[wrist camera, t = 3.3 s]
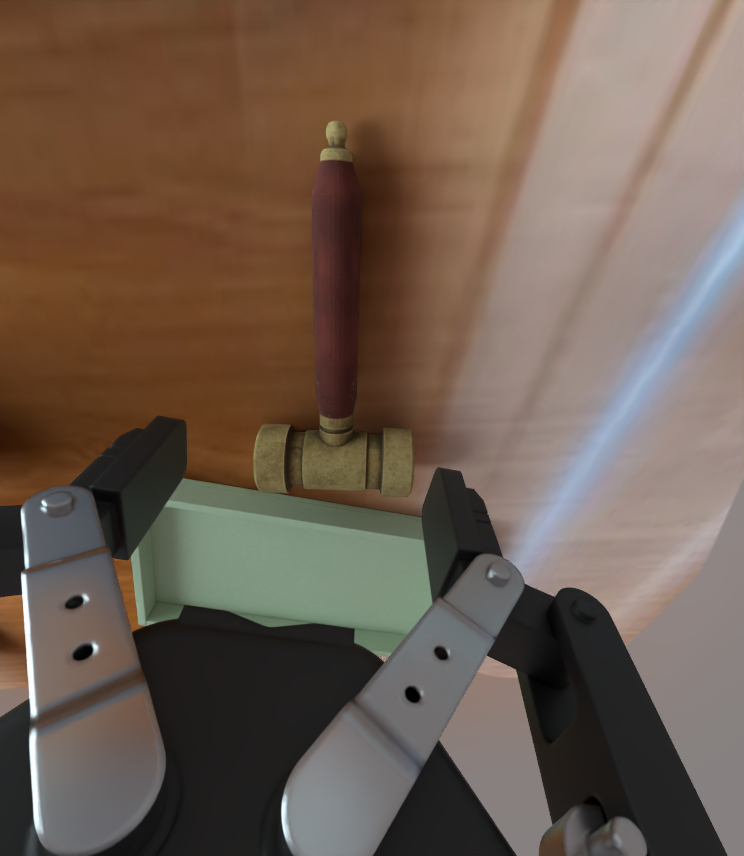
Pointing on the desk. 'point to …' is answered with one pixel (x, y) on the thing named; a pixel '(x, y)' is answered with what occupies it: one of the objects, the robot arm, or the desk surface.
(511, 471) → the desk surface
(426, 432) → the desk surface
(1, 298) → the desk surface
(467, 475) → the desk surface
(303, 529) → the tray
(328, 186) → the gavel
